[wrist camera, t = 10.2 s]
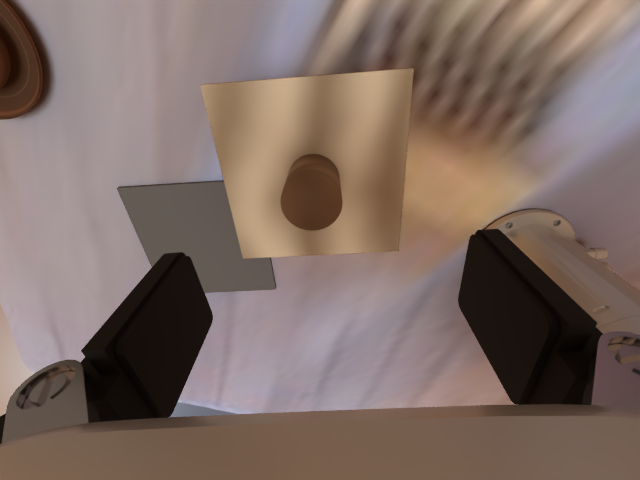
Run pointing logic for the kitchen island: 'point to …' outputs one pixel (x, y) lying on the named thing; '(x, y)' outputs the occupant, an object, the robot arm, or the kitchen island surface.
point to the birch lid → (314, 160)
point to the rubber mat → (195, 233)
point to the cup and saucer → (17, 66)
